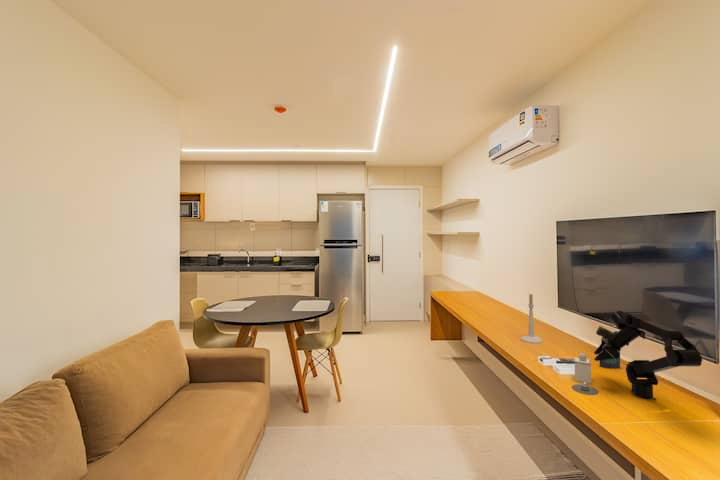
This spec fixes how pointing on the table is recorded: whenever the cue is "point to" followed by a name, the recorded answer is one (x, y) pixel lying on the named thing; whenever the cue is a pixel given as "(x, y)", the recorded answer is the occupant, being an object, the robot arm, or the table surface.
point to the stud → (585, 386)
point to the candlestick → (531, 326)
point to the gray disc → (578, 389)
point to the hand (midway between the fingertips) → (594, 356)
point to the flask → (610, 363)
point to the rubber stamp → (582, 368)
